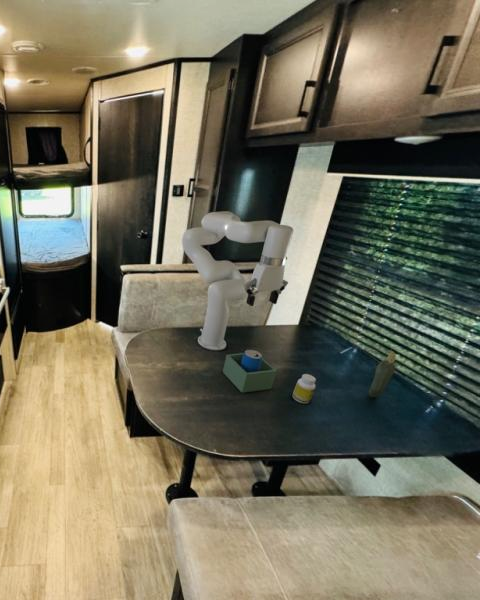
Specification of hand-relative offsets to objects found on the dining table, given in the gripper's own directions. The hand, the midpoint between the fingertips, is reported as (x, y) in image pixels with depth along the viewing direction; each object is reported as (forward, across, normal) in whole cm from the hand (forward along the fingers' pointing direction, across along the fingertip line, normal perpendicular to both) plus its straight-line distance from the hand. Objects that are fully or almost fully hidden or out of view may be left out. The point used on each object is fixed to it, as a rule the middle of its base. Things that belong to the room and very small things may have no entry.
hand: (261, 303), depth 119 cm
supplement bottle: (+31, -9, +20) cm, 38 cm away
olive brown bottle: (+31, -35, +24) cm, 52 cm away
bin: (+30, +4, +7) cm, 31 cm away
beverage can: (+30, +4, +7) cm, 31 cm away
